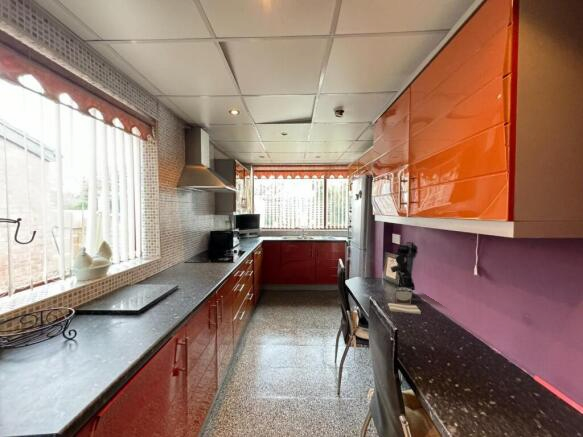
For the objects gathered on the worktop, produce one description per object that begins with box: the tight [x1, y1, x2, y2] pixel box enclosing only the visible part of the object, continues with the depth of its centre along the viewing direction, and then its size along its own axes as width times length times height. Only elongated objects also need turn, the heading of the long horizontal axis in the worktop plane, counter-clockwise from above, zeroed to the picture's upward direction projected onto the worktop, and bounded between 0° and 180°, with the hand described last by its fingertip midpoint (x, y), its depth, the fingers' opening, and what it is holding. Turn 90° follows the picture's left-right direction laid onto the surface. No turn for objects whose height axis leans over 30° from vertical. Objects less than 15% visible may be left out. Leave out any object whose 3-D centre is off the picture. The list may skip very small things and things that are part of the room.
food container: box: [394, 286, 414, 305], centre depth 187 cm, size 12×6×10 cm, turn 84°
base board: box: [387, 302, 422, 315], centre depth 174 cm, size 12×18×1 cm, turn 79°
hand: (402, 284), depth 187 cm, fingers open, 9 cm apart
